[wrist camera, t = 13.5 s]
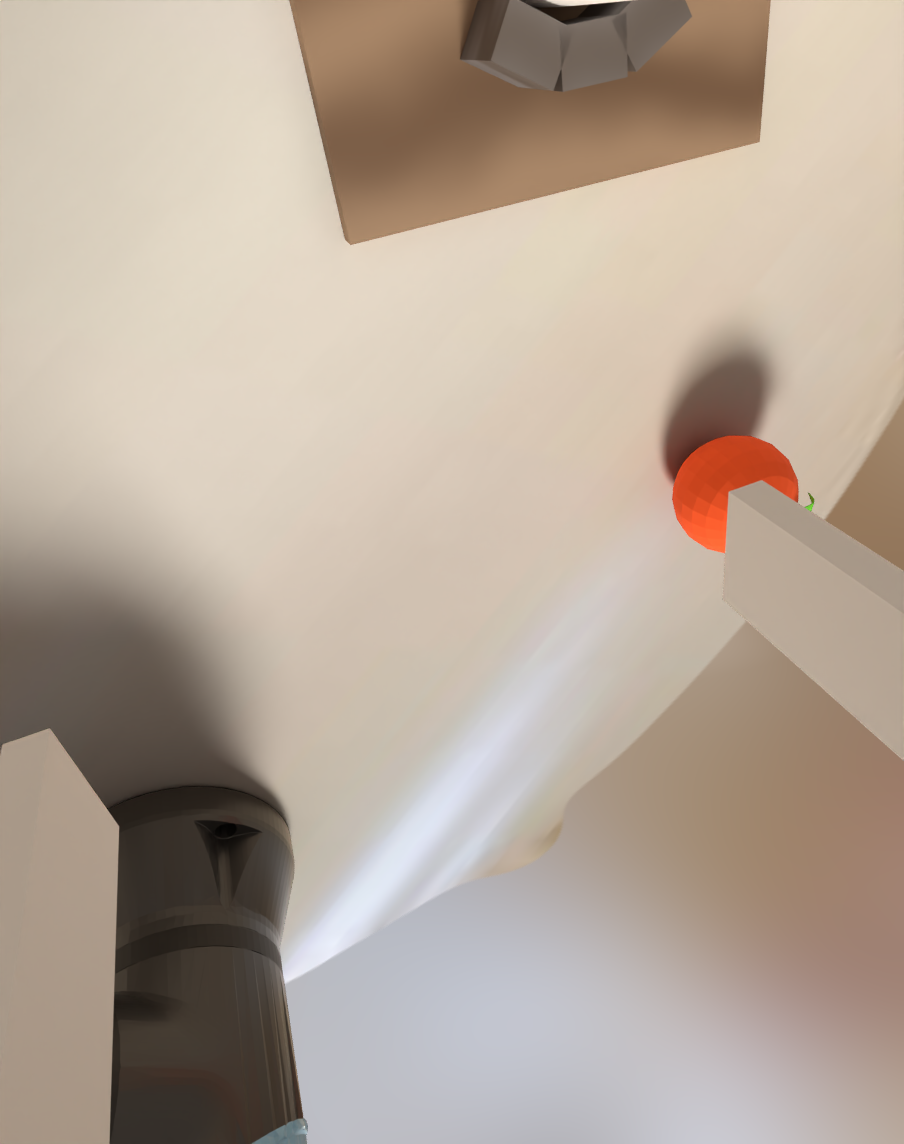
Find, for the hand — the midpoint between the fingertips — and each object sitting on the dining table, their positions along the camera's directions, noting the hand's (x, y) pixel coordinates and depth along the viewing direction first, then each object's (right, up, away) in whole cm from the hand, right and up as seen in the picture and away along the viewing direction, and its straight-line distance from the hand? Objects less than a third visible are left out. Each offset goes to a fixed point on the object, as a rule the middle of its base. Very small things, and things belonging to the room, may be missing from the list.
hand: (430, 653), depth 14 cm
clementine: (+16, +8, +33) cm, 38 cm away
